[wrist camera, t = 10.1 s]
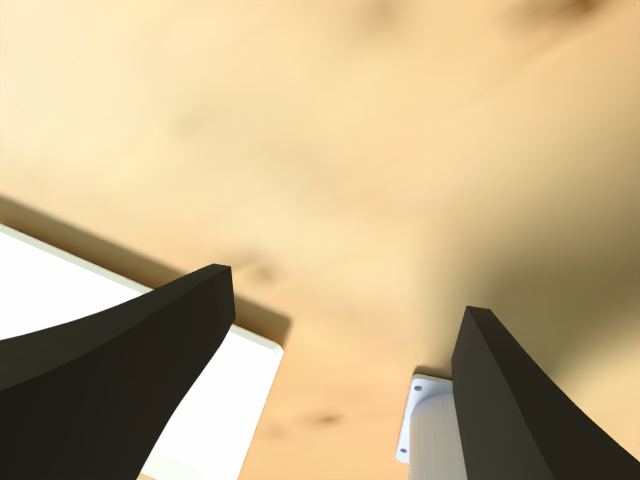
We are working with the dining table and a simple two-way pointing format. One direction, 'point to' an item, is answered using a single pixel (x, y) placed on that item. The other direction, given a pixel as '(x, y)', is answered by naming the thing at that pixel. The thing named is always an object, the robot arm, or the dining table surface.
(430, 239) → the dining table surface
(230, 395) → the plate
